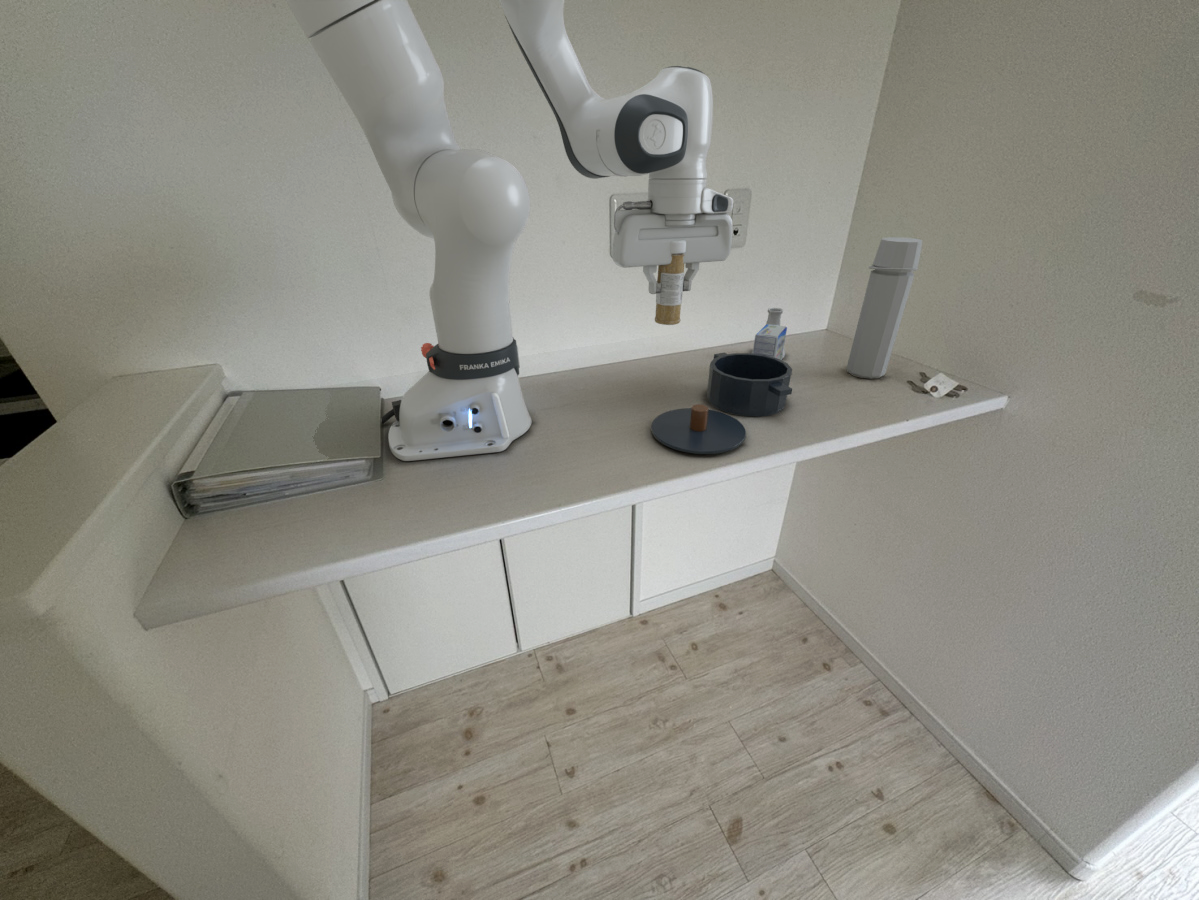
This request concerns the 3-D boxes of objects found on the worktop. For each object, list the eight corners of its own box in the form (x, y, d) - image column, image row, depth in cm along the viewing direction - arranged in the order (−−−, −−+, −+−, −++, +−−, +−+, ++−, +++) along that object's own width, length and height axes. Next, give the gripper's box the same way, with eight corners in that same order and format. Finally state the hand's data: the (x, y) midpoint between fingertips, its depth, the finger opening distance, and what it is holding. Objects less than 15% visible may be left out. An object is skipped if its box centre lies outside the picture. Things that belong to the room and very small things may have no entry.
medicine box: (771, 380, 97) (779, 336, 93) (748, 376, 99) (755, 333, 95) (780, 367, 103) (788, 326, 99) (759, 363, 105) (765, 323, 101)
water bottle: (892, 381, 96) (934, 242, 83) (849, 379, 97) (884, 242, 84) (876, 364, 104) (913, 235, 91) (837, 363, 105) (867, 235, 92)
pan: (745, 429, 80) (751, 392, 76) (685, 386, 95) (688, 354, 92) (813, 414, 84) (821, 379, 81) (745, 376, 99) (749, 344, 96)
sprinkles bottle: (658, 317, 89) (663, 236, 82) (683, 320, 87) (690, 237, 80) (650, 324, 85) (655, 239, 78) (676, 327, 83) (683, 241, 77)
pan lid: (680, 466, 70) (683, 437, 68) (635, 423, 82) (636, 397, 80) (764, 445, 75) (769, 418, 73) (710, 407, 87) (713, 383, 84)
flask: (781, 349, 113) (789, 305, 108) (788, 360, 106) (797, 314, 101) (748, 349, 113) (755, 305, 108) (754, 360, 107) (761, 313, 102)
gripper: (623, 202, 71) (620, 301, 77) (742, 200, 77) (731, 291, 84) (606, 200, 76) (605, 293, 83) (720, 197, 82) (710, 283, 89)
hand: (669, 292), depth 83 cm, fingers closed on sprinkles bottle, 4 cm apart
